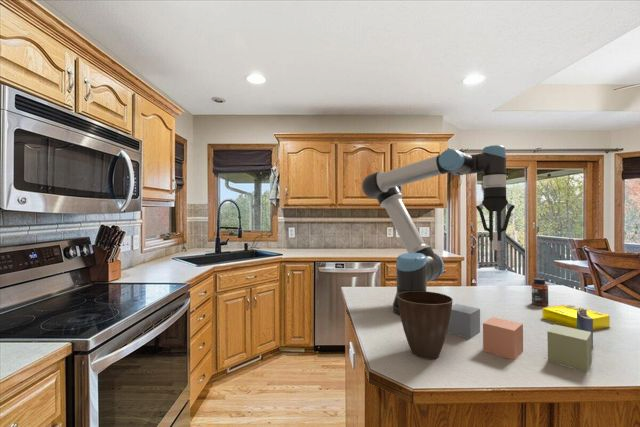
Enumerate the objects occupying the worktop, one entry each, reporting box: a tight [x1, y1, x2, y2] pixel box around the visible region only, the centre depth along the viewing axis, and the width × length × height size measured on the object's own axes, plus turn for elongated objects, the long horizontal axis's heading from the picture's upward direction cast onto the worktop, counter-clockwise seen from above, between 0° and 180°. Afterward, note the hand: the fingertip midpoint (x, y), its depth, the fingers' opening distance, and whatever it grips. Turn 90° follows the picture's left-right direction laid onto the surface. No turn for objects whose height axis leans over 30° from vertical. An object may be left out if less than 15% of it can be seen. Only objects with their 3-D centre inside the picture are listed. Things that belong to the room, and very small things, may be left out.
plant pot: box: [397, 290, 454, 360], centre depth 87 cm, size 15×15×16 cm
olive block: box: [546, 323, 593, 373], centre depth 82 cm, size 8×8×8 cm
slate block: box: [447, 303, 481, 339], centre depth 102 cm, size 8×8×8 cm
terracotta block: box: [482, 316, 524, 361], centre depth 88 cm, size 8×8×8 cm
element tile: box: [541, 304, 611, 331], centre depth 112 cm, size 15×15×5 cm
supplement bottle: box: [531, 277, 549, 307], centre depth 134 cm, size 6×6×11 cm
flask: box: [577, 307, 594, 350], centre depth 93 cm, size 9×3×11 cm, turn 151°
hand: (495, 249), depth 115 cm, fingers closed
